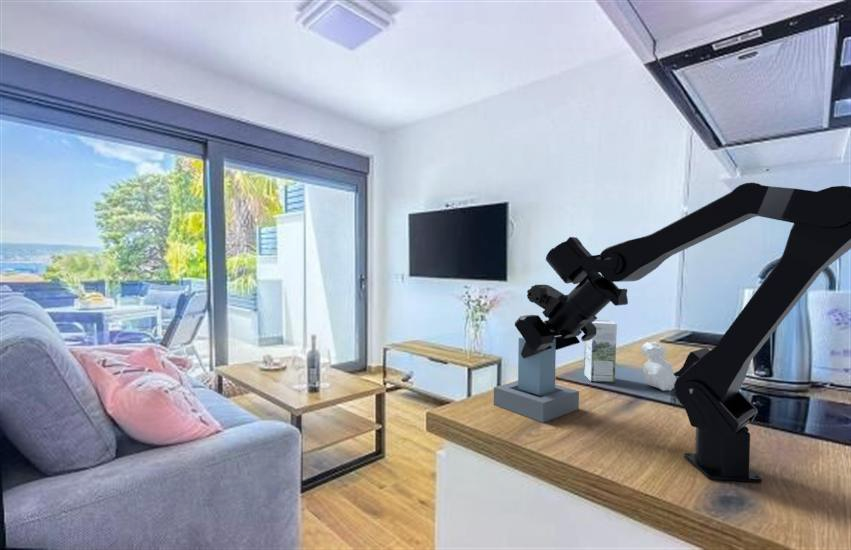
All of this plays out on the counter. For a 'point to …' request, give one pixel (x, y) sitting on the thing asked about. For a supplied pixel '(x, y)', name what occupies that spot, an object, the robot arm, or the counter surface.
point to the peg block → (537, 370)
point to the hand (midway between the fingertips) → (531, 354)
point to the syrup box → (601, 352)
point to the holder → (536, 401)
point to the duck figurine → (657, 367)
